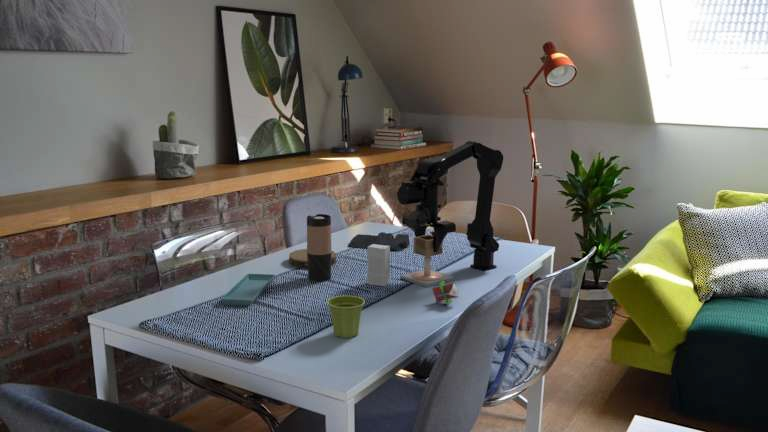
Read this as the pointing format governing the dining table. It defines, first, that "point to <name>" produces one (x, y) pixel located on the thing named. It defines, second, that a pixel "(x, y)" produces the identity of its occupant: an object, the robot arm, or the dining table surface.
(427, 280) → the beige round peg stand
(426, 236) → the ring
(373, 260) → the skincare box
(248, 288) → the teal serving tray
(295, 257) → the round wooden board
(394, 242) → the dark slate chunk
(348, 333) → the plant pot
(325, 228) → the travel mug
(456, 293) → the geometric puzzle
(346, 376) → the dining table surface
